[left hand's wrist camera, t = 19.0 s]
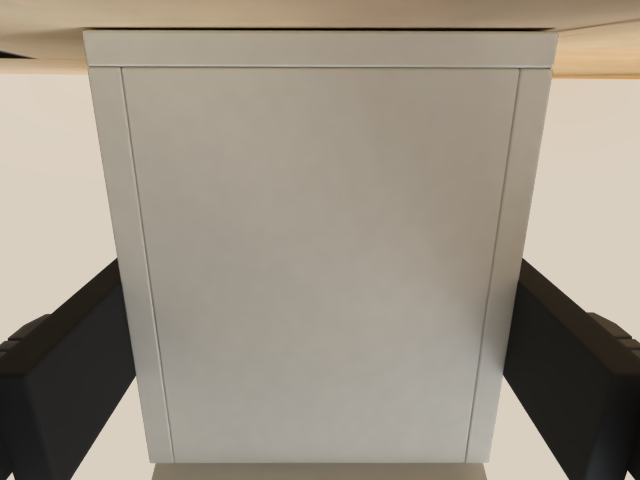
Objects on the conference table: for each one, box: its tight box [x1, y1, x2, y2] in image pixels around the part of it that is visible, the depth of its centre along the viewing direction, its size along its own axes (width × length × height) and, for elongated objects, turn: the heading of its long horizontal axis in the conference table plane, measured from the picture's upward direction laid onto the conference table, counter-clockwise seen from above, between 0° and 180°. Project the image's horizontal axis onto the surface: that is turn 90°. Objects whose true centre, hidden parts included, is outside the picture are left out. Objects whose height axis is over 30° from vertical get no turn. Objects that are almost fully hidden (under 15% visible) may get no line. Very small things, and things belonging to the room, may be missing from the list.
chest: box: [82, 30, 558, 463], centre depth 18 cm, size 15×10×11 cm, turn 0°
